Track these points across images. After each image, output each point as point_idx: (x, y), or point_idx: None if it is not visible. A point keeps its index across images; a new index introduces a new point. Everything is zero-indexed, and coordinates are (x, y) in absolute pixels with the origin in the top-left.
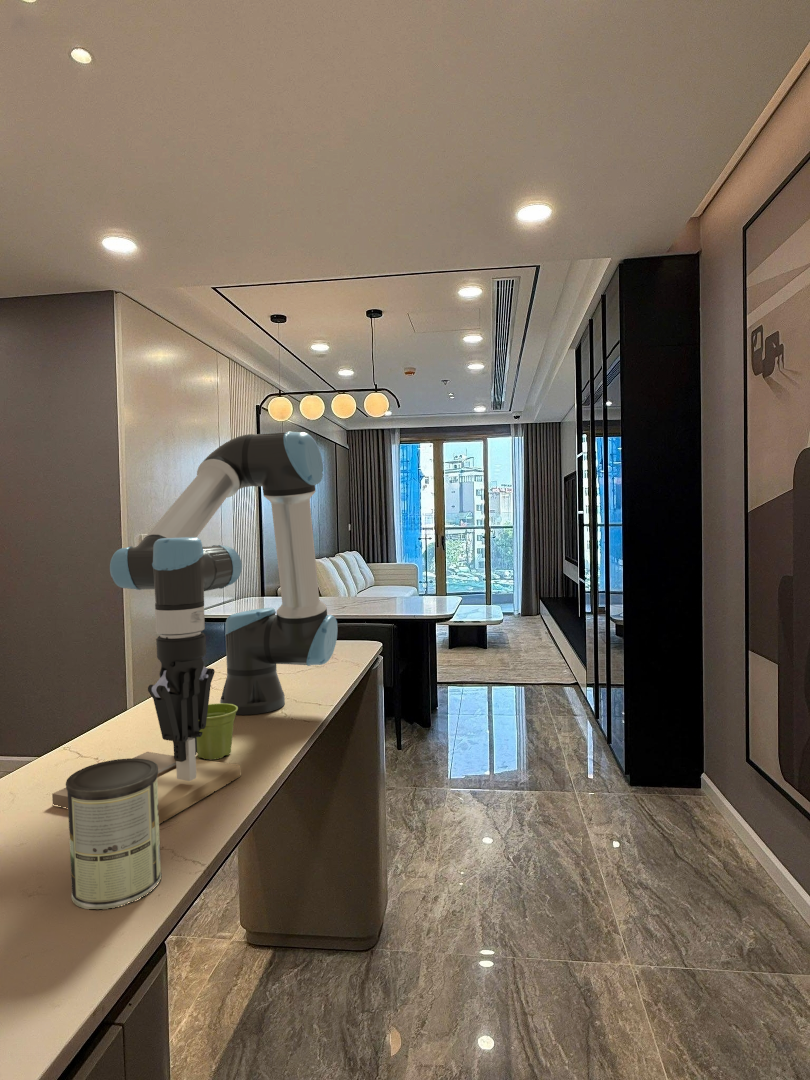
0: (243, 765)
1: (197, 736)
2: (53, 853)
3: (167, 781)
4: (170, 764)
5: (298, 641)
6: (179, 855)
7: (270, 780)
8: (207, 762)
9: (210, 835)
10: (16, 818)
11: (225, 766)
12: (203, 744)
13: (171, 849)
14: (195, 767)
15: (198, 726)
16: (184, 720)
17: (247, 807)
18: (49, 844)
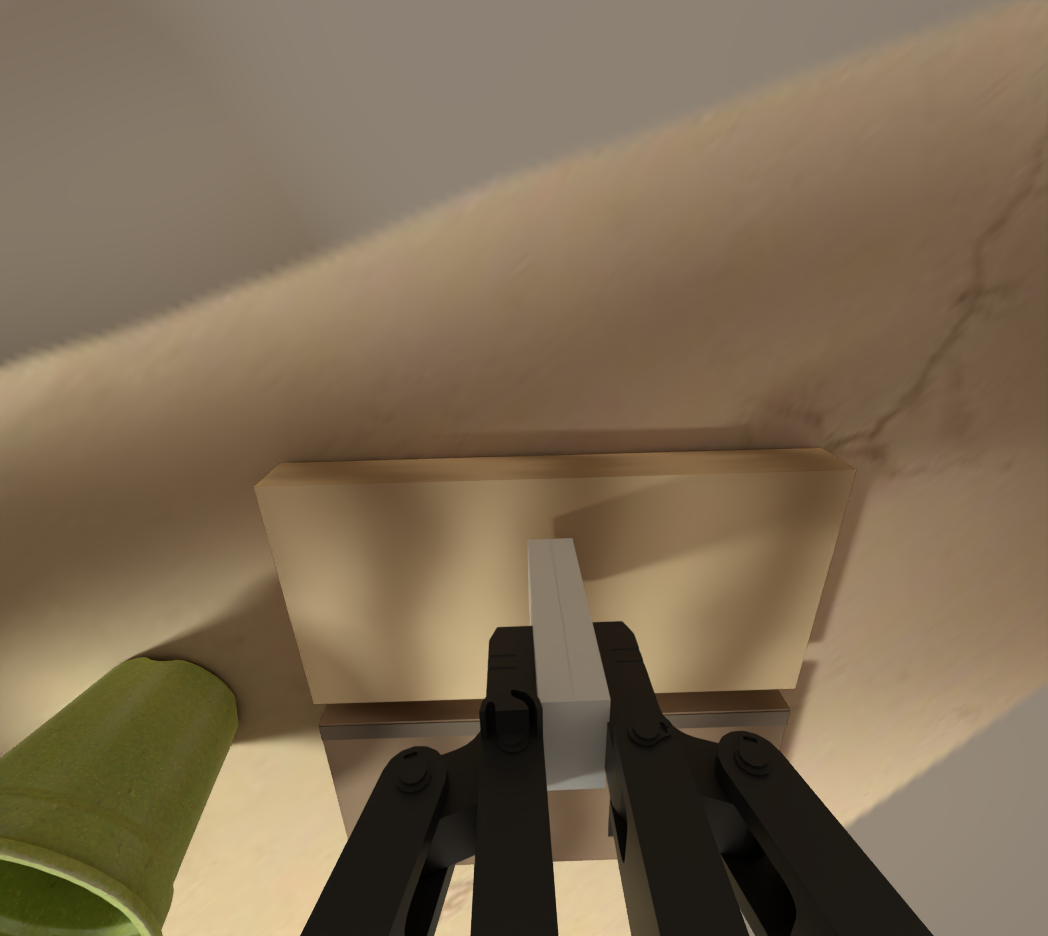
0: (174, 538)
1: (532, 698)
2: (1020, 603)
3: None
4: (406, 740)
5: None
6: (1031, 168)
7: (221, 303)
8: (314, 638)
9: (838, 166)
10: None
11: (309, 538)
12: (206, 758)
13: (979, 247)
14: (532, 569)
15: (480, 783)
16: (697, 908)
17: (530, 198)
18: (964, 654)
